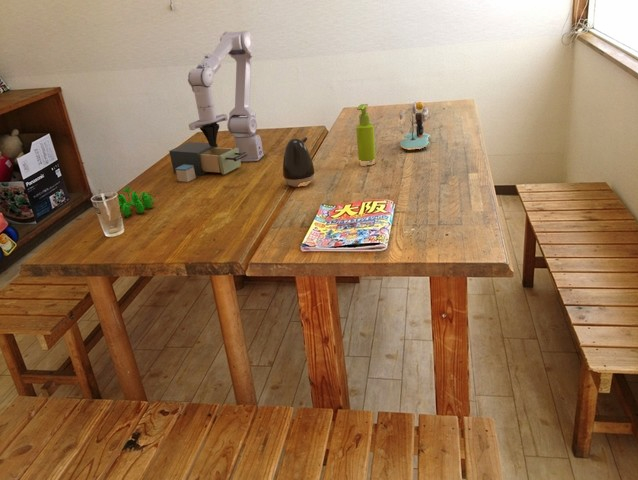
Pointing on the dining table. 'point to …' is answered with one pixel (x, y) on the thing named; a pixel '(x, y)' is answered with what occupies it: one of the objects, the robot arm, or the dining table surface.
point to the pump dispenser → (297, 163)
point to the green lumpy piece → (135, 202)
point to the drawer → (221, 159)
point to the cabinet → (189, 156)
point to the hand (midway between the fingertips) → (213, 146)
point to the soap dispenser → (365, 136)
